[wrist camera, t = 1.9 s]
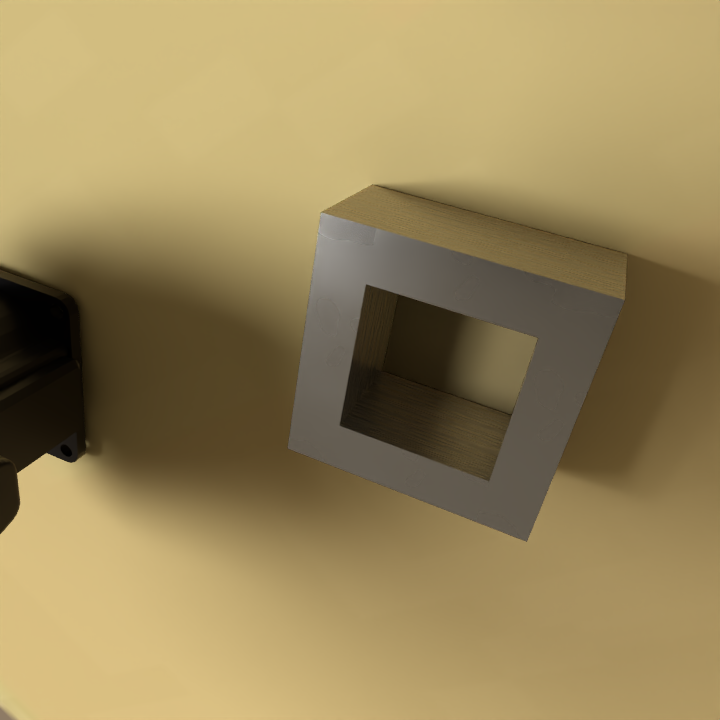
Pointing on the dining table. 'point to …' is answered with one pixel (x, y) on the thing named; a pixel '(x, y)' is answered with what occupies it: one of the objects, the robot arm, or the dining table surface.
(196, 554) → the dining table surface
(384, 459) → the grey square ring
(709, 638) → the dining table surface
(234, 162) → the dining table surface
